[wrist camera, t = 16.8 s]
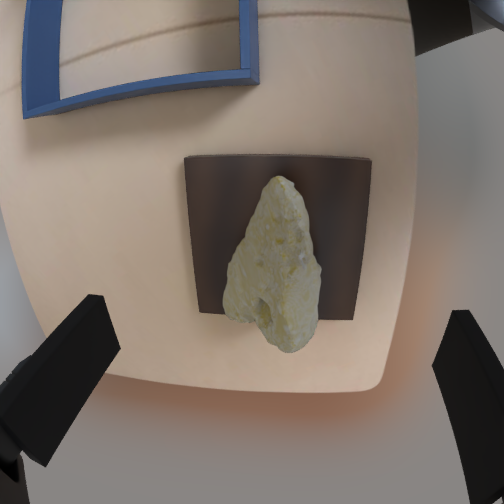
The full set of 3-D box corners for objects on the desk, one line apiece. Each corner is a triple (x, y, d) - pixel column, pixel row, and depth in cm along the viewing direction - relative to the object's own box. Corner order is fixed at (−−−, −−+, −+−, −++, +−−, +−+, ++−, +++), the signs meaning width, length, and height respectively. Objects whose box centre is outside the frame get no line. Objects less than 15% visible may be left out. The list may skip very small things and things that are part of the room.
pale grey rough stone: (284, 325, 39) (385, 331, 26) (235, 350, 35) (333, 374, 22) (246, 205, 38) (338, 163, 26) (191, 219, 34) (273, 173, 22)
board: (368, 158, 29) (371, 160, 28) (351, 312, 36) (352, 320, 35) (188, 155, 31) (183, 158, 30) (202, 305, 39) (199, 312, 37)
